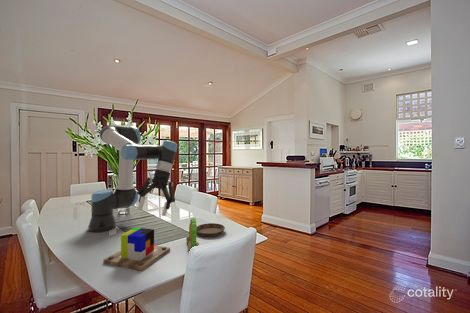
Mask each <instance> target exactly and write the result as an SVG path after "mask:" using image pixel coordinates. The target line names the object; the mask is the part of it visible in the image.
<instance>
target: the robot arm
mask: <svg viewBox="0 0 470 313" xmlns="http://www.w3.org/2000/svg"><path fill="white" fill-rule="evenodd" d="M141 136H142V135H141V132H140V130H139V128H138V127H136V126H133V125H123V124H108V125H105V126H104V127H102V128H101V129H100V131H99V138H100V140H101V141H102V142H103V143H104V144H106V145H111V146H112V147H114V148H115V149H116V150H118V151H119V156H118V179H117V180H118V181H117V182H118V185H117V186H115V190H113V189H112V188H108V189H106V188H105V189H100V190H97V191H95V192H93V193H92V194H91V200H90V202H91V218H90V219H89V220H90V221H89V224H88V226H87V230H88V231H89V232H91V233H101V232H107V231H108V232H109V231H110V230H114V229H115V228H116V227H117V222H116V219H115V217H114V210H118V209H125V208H130V207H133V206H135V205H136V204H137V203H139V204H138V206H137V210H138V211H142V210H143V209H144V208H143V207H144V204H145V201H146V198H147V197H146V196H147V195H148V194H149V193H150V192H152V191H153V190H154V189H158V190H161V191H162V193H163V196H164V198H165V200H166V201H165V202H164V206H163V209H162V212H161V216H162V217H165V216H167V213H168V210H169V209H170V208H171V207H170V206H171V205H172V203H175V202H176V198H175V191H174V182H172V181H169V179H170V177H171V172H172V169H173V166H174V162H175V158H176V154H177V151H178V143H177V142H174V141H171V140H164V141H163V143H162V145H157V144H154V145H153V144H140V142H141V138H142V137H141ZM134 160H137V161H138V160H139V161H140V160H157V164H156V166H155V167H156V168H155V171H154V174H153V178H152V177H147V178H146V181H145V182H144V184H143V185H142V186H141V187H140V188H139V189H138V190H137V189H136V187H135V186H134V185H133V178H134ZM167 186H168V188H167Z"/></svg>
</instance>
